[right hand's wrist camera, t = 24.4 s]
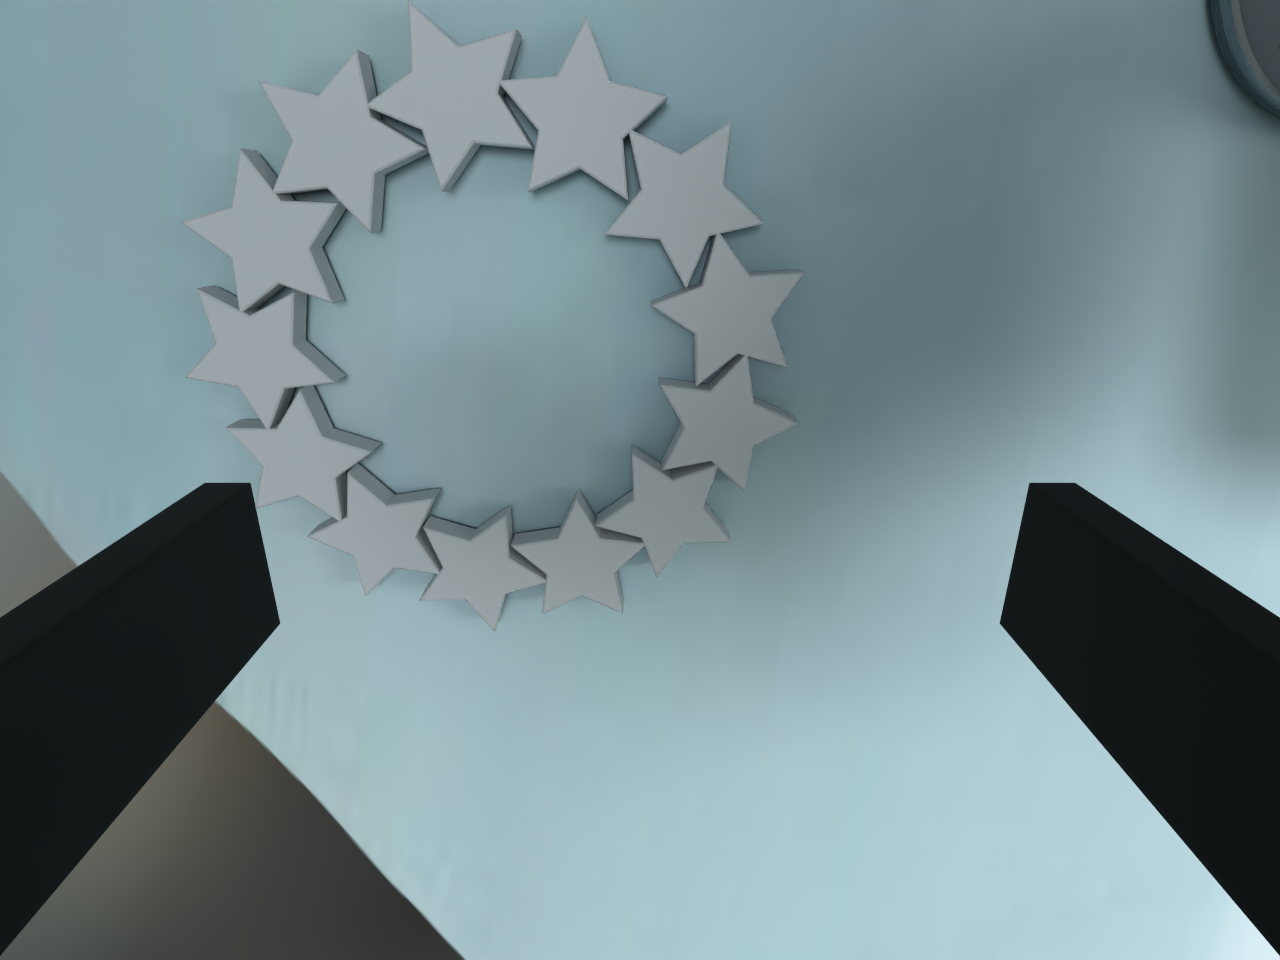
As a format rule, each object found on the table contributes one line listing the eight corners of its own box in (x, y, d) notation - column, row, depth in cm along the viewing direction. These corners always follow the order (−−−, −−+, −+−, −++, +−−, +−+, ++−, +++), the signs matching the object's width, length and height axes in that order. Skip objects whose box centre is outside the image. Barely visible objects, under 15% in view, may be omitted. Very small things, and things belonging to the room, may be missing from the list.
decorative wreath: (71, 153, 33) (370, 674, 43) (44, 151, 31) (360, 691, 42) (702, -109, 29) (863, 527, 40) (706, -126, 28) (872, 540, 38)
